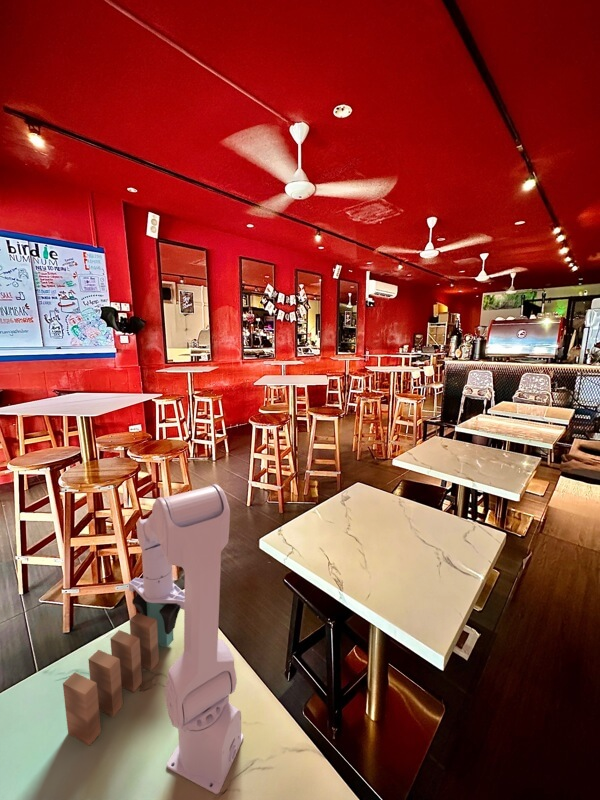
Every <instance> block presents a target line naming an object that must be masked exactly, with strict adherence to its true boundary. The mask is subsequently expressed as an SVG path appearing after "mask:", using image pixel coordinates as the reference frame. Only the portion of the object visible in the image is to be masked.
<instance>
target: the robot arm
mask: <svg viewBox="0 0 600 800" xmlns="http://www.w3.org/2000/svg"><path fill="white" fill-rule="evenodd" d="M151 508H152V510H151V512H152V513H151V514H150V515H149V516H148V518H145V519H141V518H140V519H137V524H136V535H137V541H138V545H139V547H140V550H141V561H142V562H141V564H142V578H139V577H135V578H133V579H132V580H131V581H129V583H128V591H129V592H131V593H133V592H135V591H136V596H135V597H134V598H133V599H132V604H133V606H135V607H136V608H137V610H138V613H139V614H142V615H145V616H147V602H149V603H167V604H165V605H164V606H163V607H162V608H161V609H160V610H159V613H160V614H161V615H162V617H163V620H164V627H165V632H166V634H170V632H171V631H172V630H173V631H174V629H175V627H176V624H177V623H176V622H177V619H178V616H179V612H180V610H184V612H183V613H184V617H183V618H184V621H183V622H184V624H183V625H184V628H183V629H184V631H183V633H184V635H183V636H184V638H183V639H184V640H183V643H184V644H183V652H182V654H181V655H180V656H179V657H178V658H177V659H176V660H175V661H174V663H172V665H171V667H169V669H168V671H167V673H168V674H167V676H166V683H165V685H164V698H165V704H166V709H167V712H168V717H169V720H170V723H171V725H172V726H173V727H174V728H176V729H177V731H178V744H177V745H176V747H175V749H174V750H173V752H172V754H171V756H170V757H169V759H168V760H167V763H166V767H167V769H168V770H170V771H172V772H174V773H176V774H178V776H179V775H180V776H181V777H183V778H185V779H186V780H189V781H191V782H192V783H195V784H196V785H198V786H200V787H201V788H204V789H205V790H207V791H209V792H211V793H213V794H214V795H218V794H220V792H221V790H222V787H223V785H224V783H225V780H226V779H227V776H228V774H229V772H230V769H231V767H232V765H233V762H234V760H235V758H236V756H237V753H238V751H239V749H240V747H241V744H242V742H243V741H244V734H243V732H242V711H241V710H240V709H239V708H237V707H236V706H234V705H232V703H231V702H230V695H232V694H233V693H234V692H235V690H236V686H237V672H236V669H235V659H234V656H233V653H232V651H231V650H230V648H229V646H228V645H227V644H226V642H225V641H224V640H223V639H220V638H219V618H220V617H219V616H220V615H219V614H220V595H221V594H220V591H221V590H220V589H221V567H222V566H221V563H222V562H221V561H222V557H221V556H222V554H221V553H222V551H223V550H224V548H225V547H226V546H227V545H228V544H229V535H230V525H231V524H230V523H231V522H230V519H231V518H230V517H231V510H230V509H231V508H230V505H229V502H228V498H227V495H226V493H225V491H224V489H223V488H222V487H221V486H219V484H216V483H215V484H211V485H209V486H206V487H201V488H198V489H197V488H196V489H193V490H189V491H186V492H180V493H177V494H173V495H169V496H165V497H160V496H159V497H157V498H156V499H155V500H154V502H153V504H152V507H151ZM173 566H176V567H179V568H182V569H183V571H184V591H183V589H181V588H180V587H179V586H178V585H177V584H176V583H175V581H176V578H175V577H174V576H173V574H174V573H173ZM211 785H212V786H211Z"/></svg>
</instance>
